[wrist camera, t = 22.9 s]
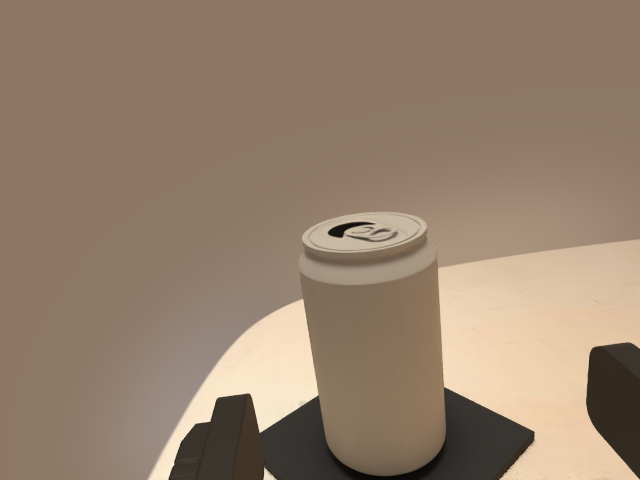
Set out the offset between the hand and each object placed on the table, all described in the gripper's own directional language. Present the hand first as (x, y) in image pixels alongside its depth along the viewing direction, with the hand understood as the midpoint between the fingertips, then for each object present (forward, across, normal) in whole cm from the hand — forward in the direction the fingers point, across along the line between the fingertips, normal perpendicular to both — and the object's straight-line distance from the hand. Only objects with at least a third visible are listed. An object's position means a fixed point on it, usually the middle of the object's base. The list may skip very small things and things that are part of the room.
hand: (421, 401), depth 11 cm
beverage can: (+11, 0, +11) cm, 15 cm away
